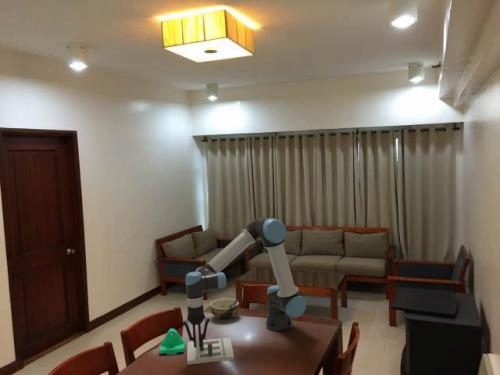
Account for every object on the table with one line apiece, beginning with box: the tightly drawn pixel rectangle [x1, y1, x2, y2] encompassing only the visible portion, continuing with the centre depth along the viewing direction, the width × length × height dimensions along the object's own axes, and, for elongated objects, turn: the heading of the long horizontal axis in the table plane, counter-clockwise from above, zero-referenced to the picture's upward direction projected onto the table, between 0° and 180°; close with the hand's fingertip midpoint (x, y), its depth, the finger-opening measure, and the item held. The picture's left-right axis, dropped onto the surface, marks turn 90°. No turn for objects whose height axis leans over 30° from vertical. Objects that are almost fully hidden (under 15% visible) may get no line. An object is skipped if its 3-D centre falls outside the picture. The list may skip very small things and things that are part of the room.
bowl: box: [209, 297, 240, 320], centre depth 255 cm, size 18×18×10 cm
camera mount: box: [159, 328, 186, 356], centre depth 212 cm, size 12×8×10 cm, turn 95°
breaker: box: [208, 342, 213, 355], centre depth 202 cm, size 2×3×5 cm
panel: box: [186, 337, 235, 366], centre depth 209 cm, size 22×22×2 cm
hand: (198, 353), depth 202 cm, fingers closed
